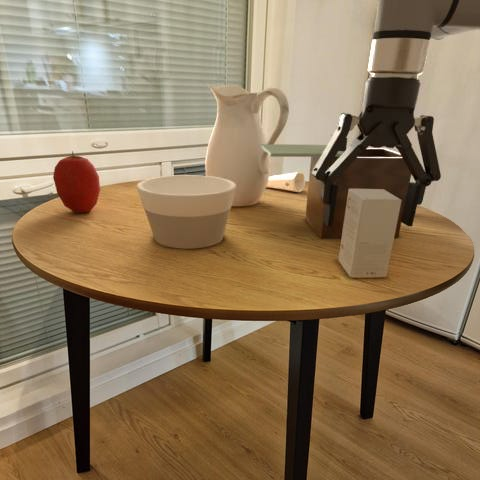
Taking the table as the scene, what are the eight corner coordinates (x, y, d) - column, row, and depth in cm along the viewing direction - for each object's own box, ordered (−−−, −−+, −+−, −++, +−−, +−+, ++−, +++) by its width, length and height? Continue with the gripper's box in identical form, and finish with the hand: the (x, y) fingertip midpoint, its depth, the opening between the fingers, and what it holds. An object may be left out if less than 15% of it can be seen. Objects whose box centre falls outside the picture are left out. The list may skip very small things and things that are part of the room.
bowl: (156, 221, 97) (153, 173, 92) (240, 226, 95) (241, 176, 90) (128, 250, 80) (121, 192, 75) (228, 256, 79) (229, 197, 73)
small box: (386, 278, 71) (403, 199, 65) (349, 278, 71) (362, 199, 64) (371, 260, 78) (384, 188, 72) (337, 260, 78) (347, 187, 71)
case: (373, 218, 103) (386, 148, 95) (398, 237, 91) (414, 158, 83) (305, 219, 101) (311, 147, 93) (321, 238, 89) (330, 157, 81)
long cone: (256, 186, 141) (305, 189, 129) (243, 191, 137) (294, 194, 125) (254, 168, 138) (304, 169, 126) (241, 173, 134) (292, 174, 122)
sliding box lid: (336, 147, 93) (338, 133, 92) (357, 157, 82) (360, 140, 80) (260, 147, 92) (261, 132, 90) (270, 156, 80) (271, 139, 79)
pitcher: (193, 200, 115) (189, 83, 102) (239, 192, 125) (241, 84, 112) (253, 219, 100) (258, 85, 86) (300, 208, 110) (311, 86, 96)
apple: (58, 208, 106) (47, 148, 99) (100, 205, 109) (92, 147, 102) (61, 219, 97) (48, 155, 91) (106, 215, 101) (97, 153, 94)
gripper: (461, 80, 65) (427, 217, 75) (301, 74, 62) (289, 217, 72) (492, 79, 58) (450, 230, 68) (314, 73, 55) (299, 231, 66)
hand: (367, 224), depth 70 cm, fingers open, 13 cm apart
